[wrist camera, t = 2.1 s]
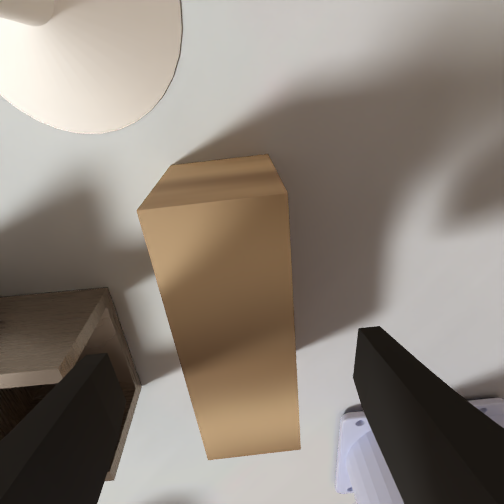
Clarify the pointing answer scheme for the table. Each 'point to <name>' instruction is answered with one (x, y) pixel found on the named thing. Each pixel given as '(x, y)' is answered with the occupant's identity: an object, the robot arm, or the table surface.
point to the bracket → (59, 351)
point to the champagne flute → (88, 59)
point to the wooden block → (229, 299)
